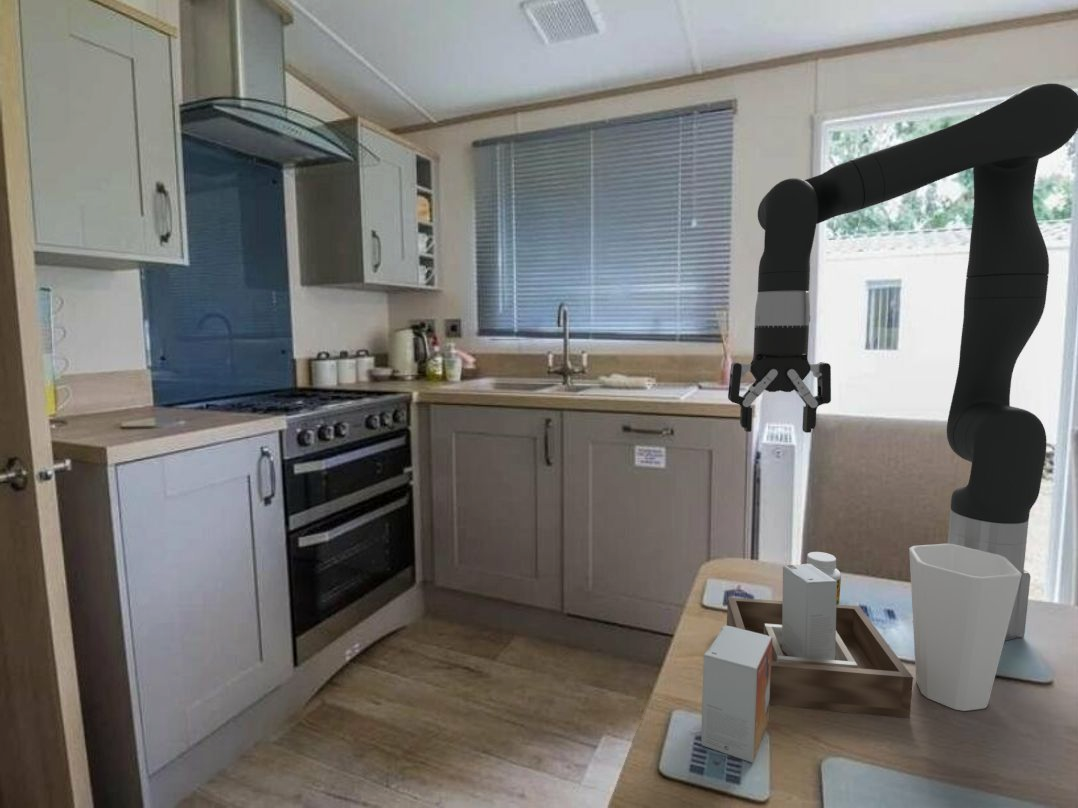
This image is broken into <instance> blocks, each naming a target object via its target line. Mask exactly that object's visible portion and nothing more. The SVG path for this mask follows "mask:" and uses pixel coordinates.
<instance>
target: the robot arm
mask: <svg viewBox="0 0 1078 808" xmlns="http://www.w3.org/2000/svg"><path fill="white" fill-rule="evenodd" d="M1077 131H1078V93H1077V92H1076V91H1074V90H1073V89H1072V88H1071V87H1068V86H1067V85H1065V84H1059V83H1054V82H1053V83H1052V82H1051V83H1050V82H1047V83H1046V82H1045V83H1038V84H1034V85H1031V86H1028V87H1026V88H1024V89H1021V90H1019V91H1017V92H1015V93H1014V94H1012V95H1010V96H1009V97H1007V98H1005V99H1004V100H1003V101H1001V102H999V103H997V104H996V105H994V106H992V107H990V108H989V109H987V110H984V111H982V112H979V113H978V114H975V115H973V116H971V117H969V118H967V119H964V120H961V121H960V122H957V123H954V124H951V125H949V126H947V127H944V128H942V129H938V130H935V131H933V132H930V133H928V134H924V135H920V136H918V137H915V138H912V139H908V140H905V141H902V142H900V143H897V144H893V145H891V146H887V147H885V148H881V149H878V150H875V151H873V152H870V153H866V154H863V155H861V156H858V157H855V158H853V159H849V160H847V161H844V162H842V163H839V164H837V165H835V166H833V167H831V168H829V169H828V170H826V171H825V172H823V173H821V174H819V175H818V174H817V175H816V176H813V177H809V178H807V179H802V178H798V177H794V178H793V177H792V178H787V179H783V180H781V181H779V182H778V183H777V184H775V185H774V186H773V187H772V188H771V189H770V190H769V191H768V192H767V193H766V194H765V196H763V198H762V199H761V201H760V203H759V205H758V208H757V220H758V223H759V225H760V227H761V228H762V230H764V241H763V242H764V244H763V252H762V254H761V257H760V260H759V265H758V275H757V276H758V279H757V295H756V296H757V297H756V302H755V309H754V330H753V331H754V332H753V333H754V335H753V353H752V354H753V357H752V361H751V362H750V363H740V362H736V361H734V362H732V363H731V364H730V373H729V381H728V382H729V383H728V384H729V385H728V391H727V392H728V394H727V399H728V400H729V401H730V402H731V403H734V404H737V405H739V406H740V412H739V414H740V416H739V417H740V418H739V424H740V426H741V428H743V430H744V431H745V432H747V433H749V432H750V433H751V432H752V427H753V426H752V425H753V424H752V422H753V407H752V404H753V402H755V401H756V400H757V398H758V397H760V396H761V394H762V393H763V392H764V391H766V392H769V393H776V392H780V391H781V392H785V393H792V392H794V391H795V393H796V395H798V396H799V398H800V399H801V401H803V403H804V404H805V406H803V409H802V410H803V412H802V428H801V429H802V431H803V432H804V433H807V434H808V433H809V434H810V433H812V429H813V430H814V429H815V428H816V425H817V411H818V407H820V406H823V405H825V404H829V403H831V401H832V376H831V375H832V374H831V373H832V372H831V371H832V370H831V369H832V367H831V364H830V363H828V362H825V361H824V362H823V361H821V362H818V363H810V362H809V360H808V355H809V333H810V323H811V303H810V279H811V278H810V277H811V254H812V249H813V244H814V240H815V234H816V230H817V229H816V228H817V225H818V224H820V223H822V222H825V221H828V220H830V219H832V218H836V217H838V216H842V215H846V214H850V213H854V212H857V211H860V210H863V209H867V208H869V207H873V206H876V205H879V204H882V203H884V202H887V201H891V200H893V199H896V198H898V197H902V196H904V195H906V194H909V193H911V192H913V191H916V190H919V189H921V188H924V187H925V186H928V185H931V184H933V183H935V182H937V181H940V180H943V179H945V178H947V177H950V176H953V175H955V174H959V173H962V172H964V171H968V170H970V169H971V170H972V169H973V170H972V172H973V174H972V175H973V176H972V177H973V211H972V212H973V213H972V221H971V222H972V223H971V230H970V239H969V240H970V242H969V253H968V262H967V269H966V275H965V277H966V279H965V288H964V289H965V290H964V298H963V299H964V301H963V320H962V328H961V339H960V348H959V361H958V367H957V368H958V369H957V375H956V380H955V385H954V389H953V394H952V398H951V403H950V408H949V411H948V417H947V423H946V439H947V441H948V445H949V447H950V449H951V450H952V452H954V454H956V456H958V457H959V458H961V459H963V460H965V461H966V462H969V463H971V468H970V473H969V479H968V483H967V485H966V486H963V487H959V488H956V489H955V490H953V492H952V494H951V498H950V499H951V500H950V513H949V521H948V523H949V524H948V537H947V544H955V545H959V546H963V547H967V548H972V549H976V550H980V551H984V552H989V553H993V554H997V555H1000V556H1003V557H1005V558H1006V559H1007V560H1008V561H1009V562H1010V563H1011V564H1012V565H1013V566H1014V567H1015V568H1016V569H1017V570H1018V571H1019V572H1021V574H1022V575H1021V579H1020V583H1019V587H1018V591H1017V595H1016V598H1015V602H1014V606H1013V610H1012V614H1011V618H1010V621H1009V625H1008V629H1007V633H1006V637H1005V640H1004V641H1008V640H1012V639H1015V638H1025V633H1026V623H1027V616H1028V615H1027V614H1028V604H1029V603H1028V602H1029V595H1030V587H1031V586H1030V584H1031V573H1030V572H1028V571H1026V570H1025V560H1026V552H1027V551H1026V549H1027V542H1028V541H1027V540H1028V539H1027V538H1028V529H1029V519H1030V513H1031V510H1032V509H1033V507H1034V505H1035V504H1036V502H1037V501H1038V498H1039V495H1040V491H1041V484H1042V479H1043V472H1044V469H1045V467H1044V466H1045V461H1046V453H1047V446H1048V445H1047V443H1048V442H1047V433H1046V429H1045V426H1044V425H1043V422H1042V420H1040V418H1039V417H1038V416H1037V415H1036V414H1034V413H1032V412H1031V411H1029V410H1026V409H1023V408H1019V407H1015V406H1011V405H1010V404H1011V402H1010V396H1011V389H1012V388H1011V387H1012V379H1013V372H1014V369H1015V367H1016V363H1017V362H1018V361H1017V360H1018V358H1019V357H1020V355H1021V353H1022V352H1023V350H1024V348H1025V347H1026V345H1027V343H1028V341H1029V340H1030V339H1031V337H1032V335H1033V334H1034V331H1035V330H1036V328H1037V327H1038V325H1039V324H1040V321H1041V318H1042V316H1043V315H1044V314H1043V313H1044V311H1045V307H1046V301H1047V292H1048V283H1049V274H1050V258H1049V252H1048V248H1047V246H1046V243H1045V240H1044V237H1043V234H1042V231H1041V228H1040V226H1039V223H1038V221H1037V218H1036V214H1035V209H1034V190H1035V189H1034V188H1035V182H1036V174H1037V169H1038V164H1039V161H1040V159H1042V158H1045V157H1046V156H1049V155H1051V154H1053V153H1055V151H1057V150H1059V149H1061V148H1062V147H1063V146H1064V145H1066V144H1067V143H1068V142H1069V141H1070V140H1071V139H1072V138H1073V137H1074V136H1075V134H1076V133H1077ZM747 372H750V373H751V375H752V376H753V377H754V379H755V380H754V381H753V382H752V384H751V385H750V386H749V387H748V389H747V390H746V392H745V393H744V394H743V395H740V389H741V378H745V377H746V375H747ZM810 372H812V375H813V377H814V378H816V382H817V383H816V385H817V386H816V387H817V390H816V391H817V393H816V394H817V395H815V396H813V394H812V393H811V390H810V389H809V387H808V386H806V384H805V382H804V379H805V378H806V377H807V376H808V375H809V373H810Z"/></svg>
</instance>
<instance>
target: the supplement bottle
mask: <svg viewBox="0 0 1078 808" xmlns="http://www.w3.org/2000/svg"><path fill="white" fill-rule="evenodd" d="M806 556H807V557H806V564H811V565H813V566H814V567H816V568H817V569H819V570H820V571H822V572H823V573H825V574H827V575H828V576H830V577H831V578H833V579H834V580H836V581H837V602H836V605H840V596H841V594H840V593H841V585H842V584H841V581H842V574H841V572H840V570H839V569H838V568H837V558H836V557H835V555H833V554H830V553H828V552H822V551H811V552H809V553H807V555H806Z"/></svg>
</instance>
